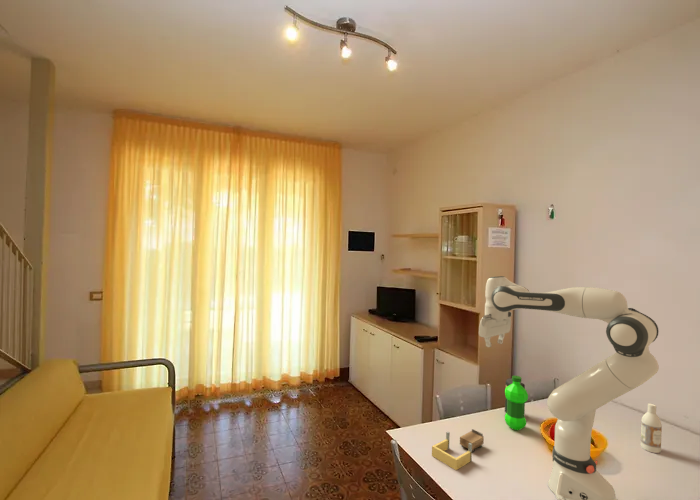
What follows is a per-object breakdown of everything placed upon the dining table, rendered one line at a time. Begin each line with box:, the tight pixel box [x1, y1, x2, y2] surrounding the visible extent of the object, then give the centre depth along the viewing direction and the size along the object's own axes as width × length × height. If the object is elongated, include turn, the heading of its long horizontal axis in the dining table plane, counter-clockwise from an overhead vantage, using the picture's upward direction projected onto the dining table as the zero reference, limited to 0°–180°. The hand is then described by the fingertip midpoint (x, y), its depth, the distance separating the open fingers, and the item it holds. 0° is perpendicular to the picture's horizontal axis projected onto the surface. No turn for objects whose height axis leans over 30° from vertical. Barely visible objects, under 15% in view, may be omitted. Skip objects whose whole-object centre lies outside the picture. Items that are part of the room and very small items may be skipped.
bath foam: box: [640, 402, 663, 454], centre depth 158 cm, size 7×7×20 cm
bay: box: [431, 431, 473, 471], centre depth 147 cm, size 12×11×7 cm
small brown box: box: [459, 429, 485, 453], centre depth 156 cm, size 6×9×5 cm, turn 128°
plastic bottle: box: [504, 375, 529, 431], centre depth 174 cm, size 10×10×25 cm
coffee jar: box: [504, 377, 526, 414], centre depth 188 cm, size 10×8×19 cm
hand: (494, 345), depth 153 cm, fingers open, 8 cm apart
